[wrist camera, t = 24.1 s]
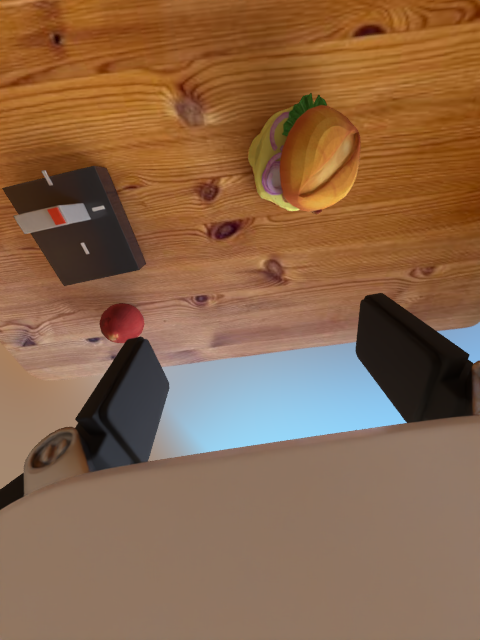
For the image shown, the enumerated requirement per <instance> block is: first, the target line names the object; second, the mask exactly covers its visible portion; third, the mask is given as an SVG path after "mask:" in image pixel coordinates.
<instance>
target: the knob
mask: <svg viewBox="0 0 480 640" xmlns="http://www.w3.org/2000/svg"><path fill="white" fill-rule="evenodd" d="M13 217H14V218H15V220H16V221H17V223H18V225H19V226H20V228H21V229H22V231H23V232H24V234H28V233H32V232H37V231H41V230H46V229H50V228H55V227H59V226H64V225H68V224H73V223H77V222H82V221H86V220H90V219H91V218H90V216H89V214H88V212H87V210H86V208H85V206H84V204H83V203H78V204H67V205H58V206H53V207H49V208H45V209H40V210H36V211H32V212H27V213H23V214H19V215H14V216H13Z"/></svg>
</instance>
